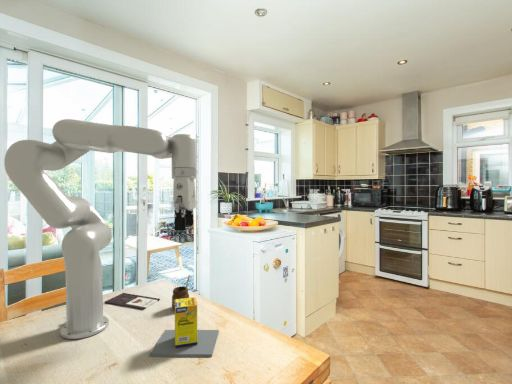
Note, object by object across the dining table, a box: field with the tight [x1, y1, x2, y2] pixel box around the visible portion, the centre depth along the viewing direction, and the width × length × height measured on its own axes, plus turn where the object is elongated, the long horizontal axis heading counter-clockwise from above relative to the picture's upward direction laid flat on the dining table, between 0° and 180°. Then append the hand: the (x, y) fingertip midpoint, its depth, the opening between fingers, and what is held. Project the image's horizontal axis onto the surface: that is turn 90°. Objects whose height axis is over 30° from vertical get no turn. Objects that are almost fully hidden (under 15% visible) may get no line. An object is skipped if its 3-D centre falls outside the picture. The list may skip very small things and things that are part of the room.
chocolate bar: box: [103, 292, 161, 311], centre depth 105 cm, size 9×1×18 cm
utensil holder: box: [171, 274, 191, 312], centre depth 99 cm, size 6×6×12 cm
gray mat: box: [149, 329, 220, 358], centre depth 77 cm, size 16×12×1 cm
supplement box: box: [174, 296, 198, 348], centre depth 77 cm, size 6×6×11 cm
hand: (184, 227), depth 88 cm, fingers open, 9 cm apart
